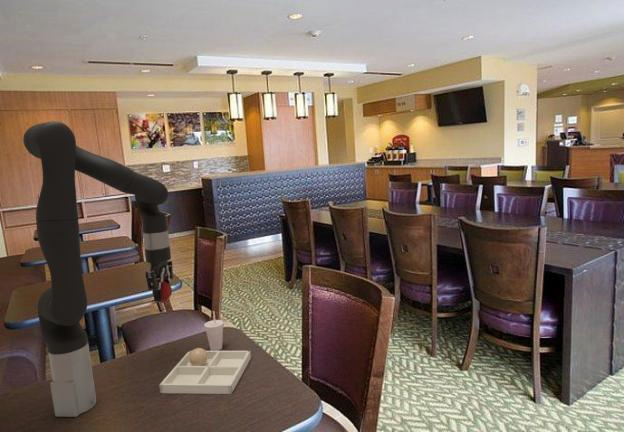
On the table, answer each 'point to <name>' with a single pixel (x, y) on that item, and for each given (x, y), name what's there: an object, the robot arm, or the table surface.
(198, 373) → the tray
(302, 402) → the table surface
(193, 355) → the beige ball
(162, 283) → the onion
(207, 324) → the smoothie
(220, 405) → the table surface
